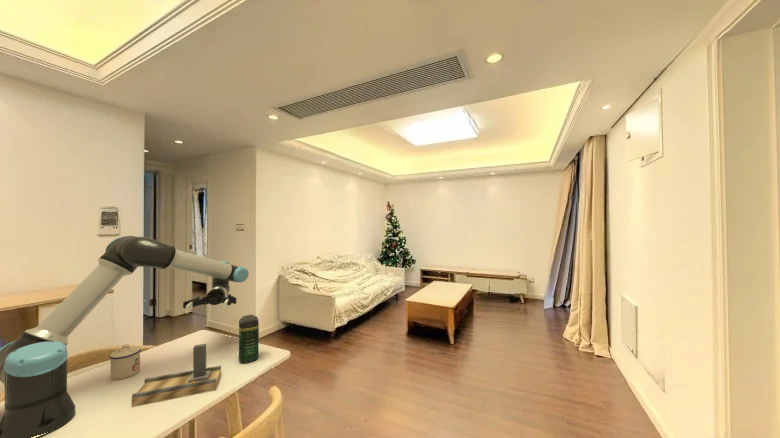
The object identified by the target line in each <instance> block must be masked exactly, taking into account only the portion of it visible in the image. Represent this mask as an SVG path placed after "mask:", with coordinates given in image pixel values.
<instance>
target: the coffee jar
mask: <svg viewBox="0 0 780 438" xmlns="http://www.w3.org/2000/svg"><path fill="white" fill-rule="evenodd" d="M259 324H260V323H259V317H257V316H256V315H254V314H248V315H247V314H246V315H243V316H241V318H239V321H238V361H239V362H240V363H243V364H244V363H247V364H249V363H251V362H254V361H255V360H257V359H258V358H259V345H260V343H259V341H260V340H259V339H260V338H259V337H260V329H259Z"/></svg>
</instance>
